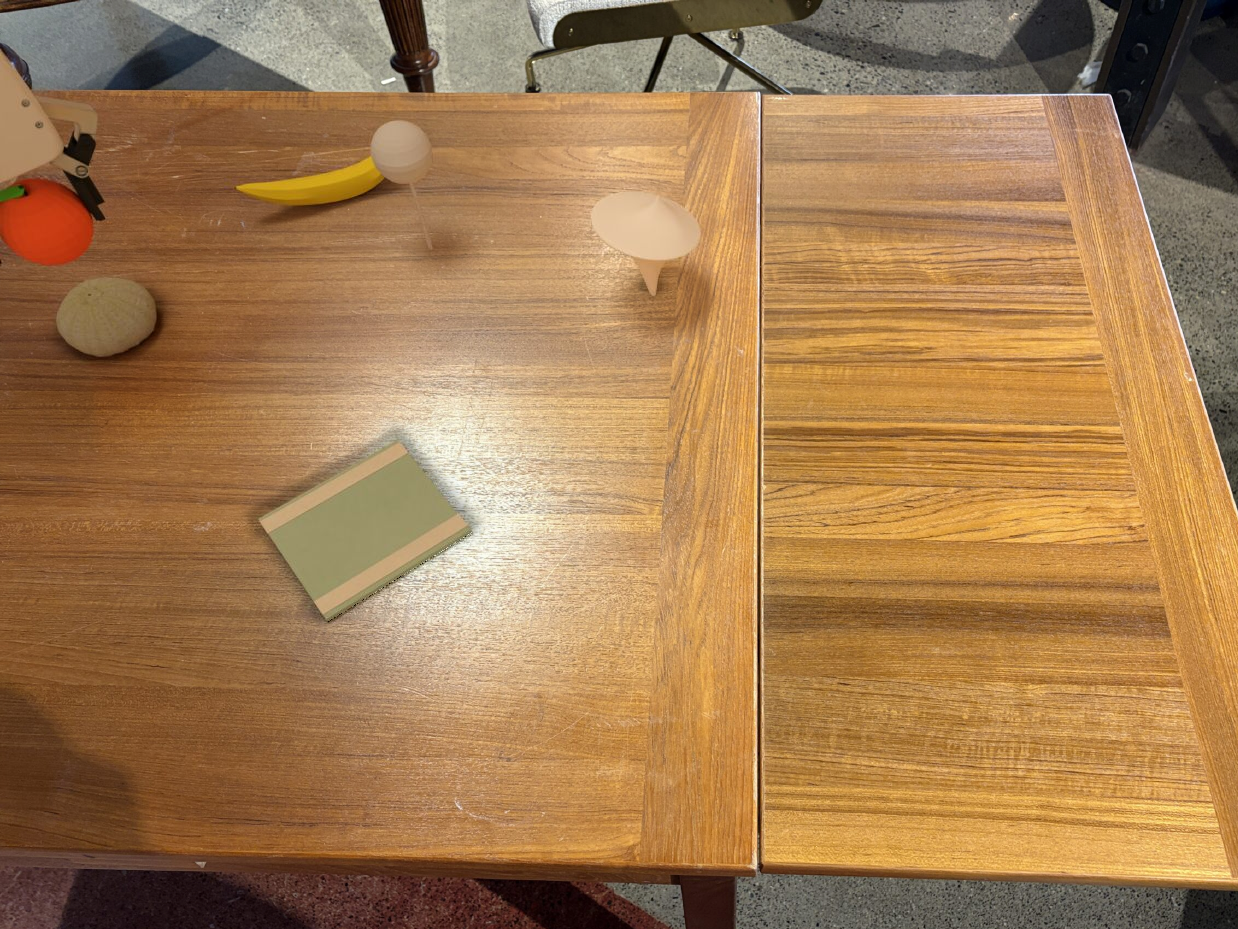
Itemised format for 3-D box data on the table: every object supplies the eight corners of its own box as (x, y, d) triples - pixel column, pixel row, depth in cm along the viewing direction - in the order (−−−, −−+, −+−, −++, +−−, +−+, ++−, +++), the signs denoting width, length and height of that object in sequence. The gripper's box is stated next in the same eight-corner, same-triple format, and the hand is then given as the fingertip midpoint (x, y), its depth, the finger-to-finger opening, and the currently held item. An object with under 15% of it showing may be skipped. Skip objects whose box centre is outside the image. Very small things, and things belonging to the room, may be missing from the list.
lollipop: (397, 238, 110) (356, 116, 98) (449, 224, 111) (415, 100, 99) (411, 274, 107) (370, 152, 94) (465, 259, 108) (432, 136, 96)
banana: (250, 216, 113) (226, 168, 107) (415, 168, 117) (400, 120, 112) (255, 232, 111) (232, 184, 106) (422, 183, 115) (407, 134, 110)
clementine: (19, 299, 83) (-34, 230, 77) (5, 250, 87) (-48, 181, 81) (118, 264, 85) (73, 194, 80) (100, 218, 89) (55, 148, 83)
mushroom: (677, 249, 108) (673, 152, 98) (718, 314, 103) (718, 219, 93) (586, 277, 106) (572, 181, 96) (623, 345, 101) (612, 251, 91)
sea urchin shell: (85, 369, 97) (30, 295, 95) (92, 376, 104) (41, 308, 102) (174, 323, 101) (122, 250, 98) (175, 333, 108) (126, 265, 105)
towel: (328, 622, 84) (325, 618, 83) (260, 522, 89) (257, 518, 89) (472, 533, 88) (470, 528, 88) (399, 443, 94) (397, 438, 94)
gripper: (13, -32, 74) (128, 170, 89) (-246, 57, 68) (-76, 258, 83) (49, 9, 71) (163, 212, 85) (-220, 107, 65) (-48, 308, 79)
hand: (45, 234), depth 84 cm, fingers closed on clementine, 8 cm apart
